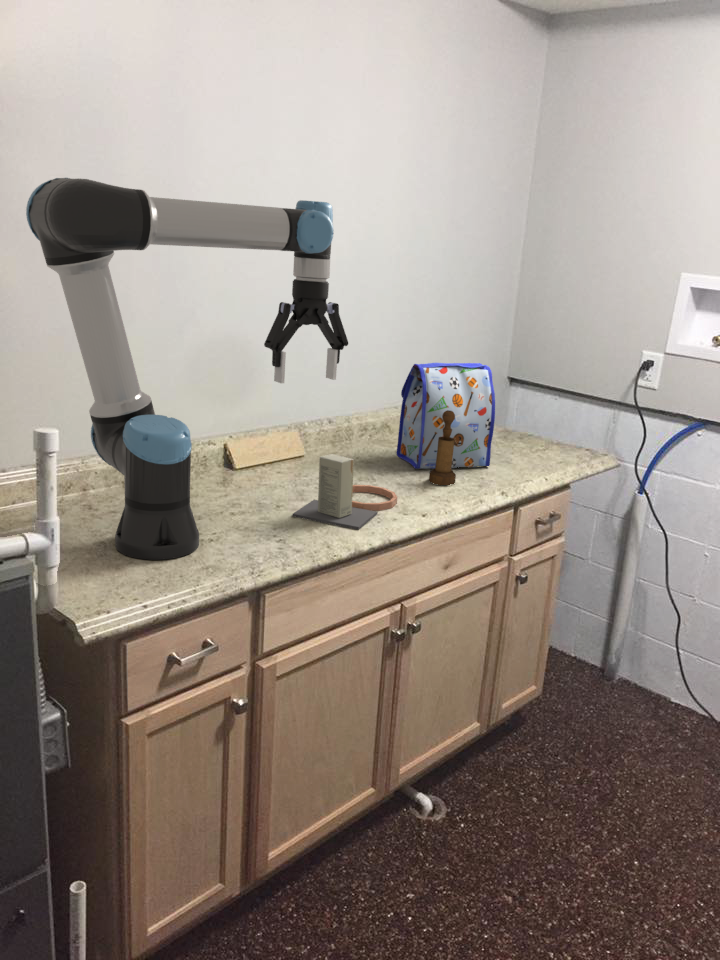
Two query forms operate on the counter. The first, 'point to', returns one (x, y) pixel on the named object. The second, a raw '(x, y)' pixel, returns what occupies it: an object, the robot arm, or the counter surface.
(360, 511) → the rubber mat
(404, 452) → the lunch bag
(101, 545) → the counter surface
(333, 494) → the skincare box
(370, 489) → the pink polygonal ring
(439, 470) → the mortar and pestle
